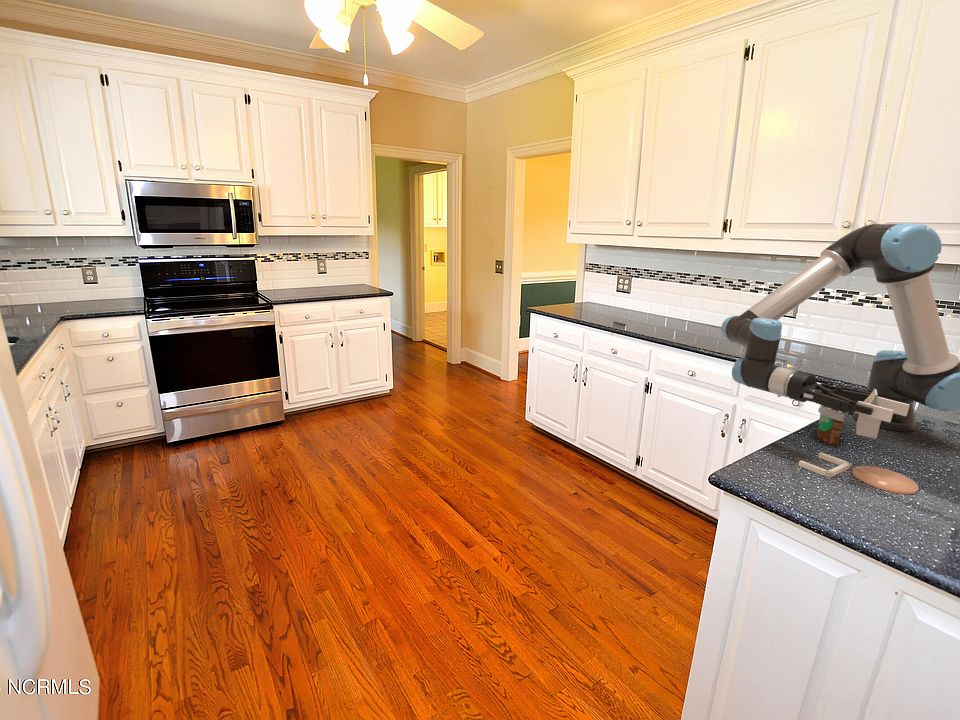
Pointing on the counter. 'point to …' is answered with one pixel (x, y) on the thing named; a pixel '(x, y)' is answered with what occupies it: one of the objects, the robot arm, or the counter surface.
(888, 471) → the saucer
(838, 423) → the food container
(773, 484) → the counter surface
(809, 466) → the holder
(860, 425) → the tea bag
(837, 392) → the robot arm
